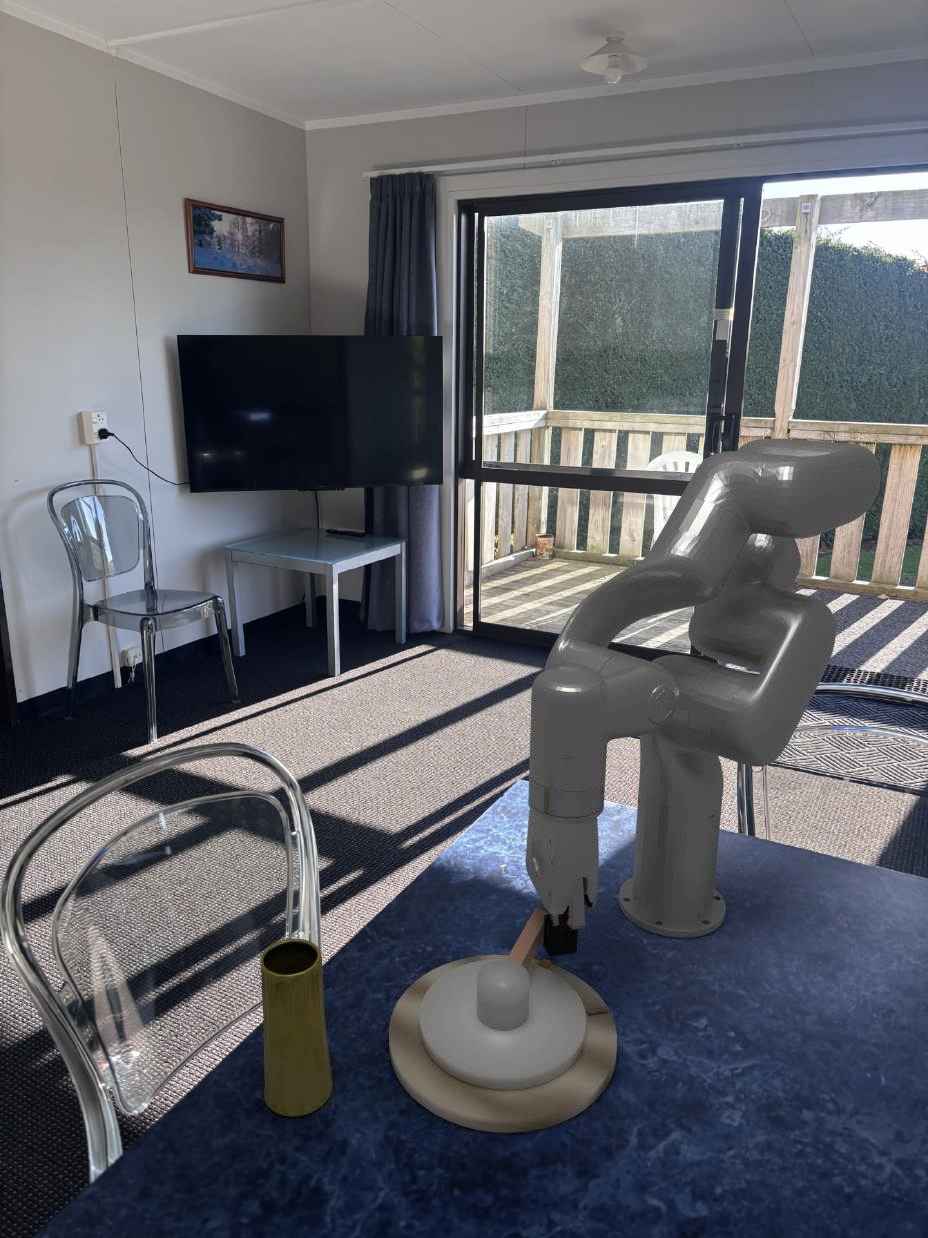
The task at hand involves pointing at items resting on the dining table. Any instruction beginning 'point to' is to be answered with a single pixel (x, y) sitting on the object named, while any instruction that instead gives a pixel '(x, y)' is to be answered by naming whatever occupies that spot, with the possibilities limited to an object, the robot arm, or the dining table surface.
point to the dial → (504, 1018)
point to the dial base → (502, 1105)
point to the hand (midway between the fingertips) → (559, 950)
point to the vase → (294, 1028)
